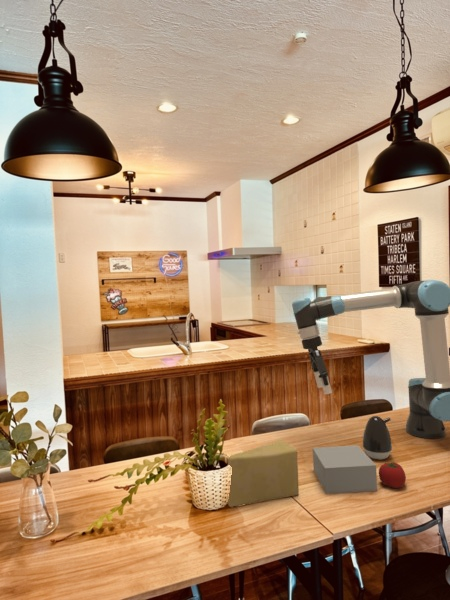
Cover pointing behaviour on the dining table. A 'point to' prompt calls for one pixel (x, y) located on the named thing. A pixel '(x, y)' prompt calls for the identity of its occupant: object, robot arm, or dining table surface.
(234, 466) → the cheese
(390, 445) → the pump dispenser
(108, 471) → the dining table surface
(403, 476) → the tomato
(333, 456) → the slate block
